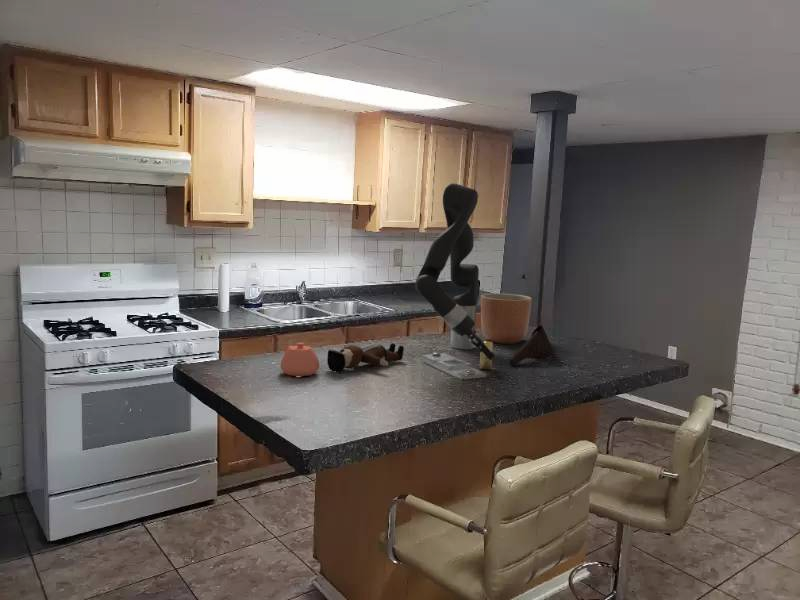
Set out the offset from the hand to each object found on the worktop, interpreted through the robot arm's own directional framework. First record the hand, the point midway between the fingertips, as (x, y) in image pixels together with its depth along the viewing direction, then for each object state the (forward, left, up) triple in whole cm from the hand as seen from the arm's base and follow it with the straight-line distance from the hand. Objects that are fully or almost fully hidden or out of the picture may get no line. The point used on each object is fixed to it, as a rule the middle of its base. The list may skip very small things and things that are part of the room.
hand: (491, 356), depth 218 cm
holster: (-6, +23, -5) cm, 24 cm away
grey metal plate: (-5, -13, -5) cm, 14 cm away
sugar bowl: (-17, -64, -5) cm, 66 cm away
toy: (-18, -39, -5) cm, 43 cm away
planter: (-39, +34, -5) cm, 52 cm away
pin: (-1, -2, -4) cm, 5 cm away
